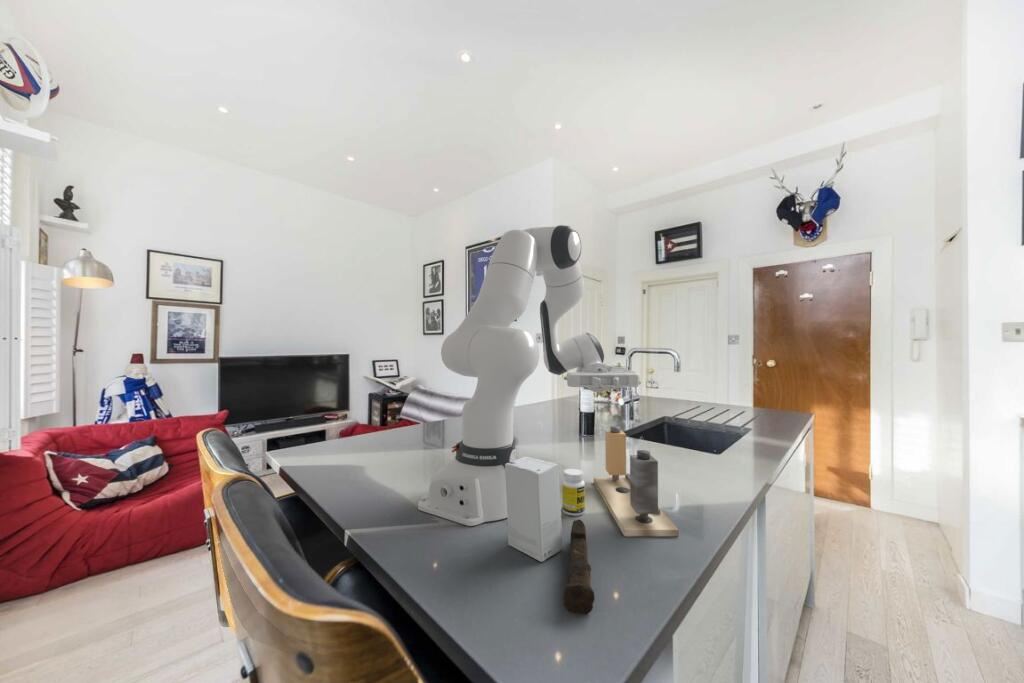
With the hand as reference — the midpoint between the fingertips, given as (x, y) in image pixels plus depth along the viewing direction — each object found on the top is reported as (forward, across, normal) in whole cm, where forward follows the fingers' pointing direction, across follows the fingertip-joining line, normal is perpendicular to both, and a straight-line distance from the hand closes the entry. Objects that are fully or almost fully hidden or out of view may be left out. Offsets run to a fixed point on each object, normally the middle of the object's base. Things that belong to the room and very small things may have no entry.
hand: (608, 382), depth 98 cm
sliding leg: (+6, 0, +23) cm, 24 cm away
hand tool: (+40, -16, +25) cm, 50 cm away
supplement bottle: (+20, -13, +25) cm, 35 cm away
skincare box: (+34, -22, +25) cm, 47 cm away
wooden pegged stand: (+17, 0, +25) cm, 30 cm away
